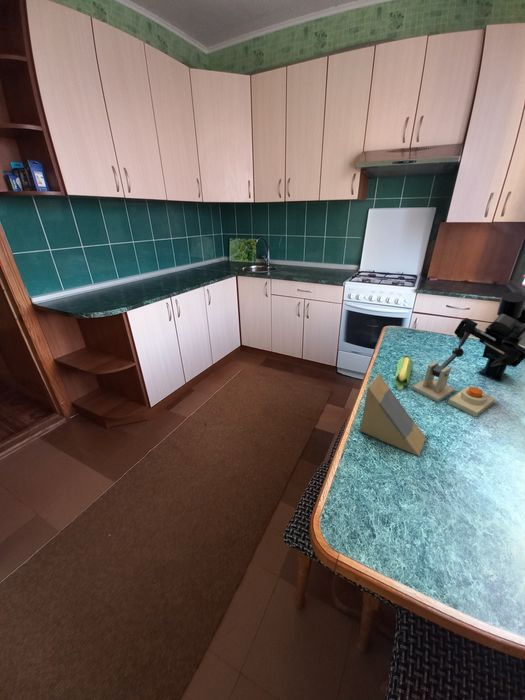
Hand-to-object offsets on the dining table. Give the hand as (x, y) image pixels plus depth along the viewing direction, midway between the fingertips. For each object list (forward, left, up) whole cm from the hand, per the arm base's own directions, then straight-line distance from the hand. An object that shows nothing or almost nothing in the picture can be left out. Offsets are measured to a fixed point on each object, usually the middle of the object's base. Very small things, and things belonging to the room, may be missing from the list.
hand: (475, 356), depth 85 cm
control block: (-1, +3, -16) cm, 16 cm away
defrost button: (-1, +3, -13) cm, 13 cm away
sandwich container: (+31, -3, -16) cm, 35 cm away
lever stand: (+2, -8, -16) cm, 18 cm away
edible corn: (+2, -18, -16) cm, 25 cm away
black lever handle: (-4, -8, -8) cm, 12 cm away
